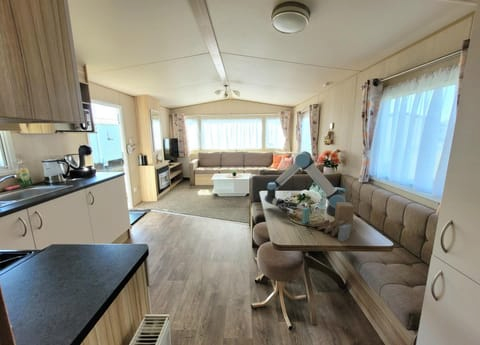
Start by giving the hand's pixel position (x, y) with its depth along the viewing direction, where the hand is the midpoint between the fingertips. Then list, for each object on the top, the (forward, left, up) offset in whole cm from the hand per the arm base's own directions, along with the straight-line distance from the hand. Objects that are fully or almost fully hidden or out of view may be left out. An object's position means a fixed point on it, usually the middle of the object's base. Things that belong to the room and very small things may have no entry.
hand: (298, 210), depth 169 cm
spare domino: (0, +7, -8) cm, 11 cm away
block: (-12, +31, -8) cm, 34 cm away
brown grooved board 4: (0, +26, -8) cm, 27 cm away
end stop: (0, +38, -8) cm, 39 cm away
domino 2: (0, +15, -7) cm, 17 cm away
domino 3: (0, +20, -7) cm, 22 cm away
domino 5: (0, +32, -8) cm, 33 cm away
